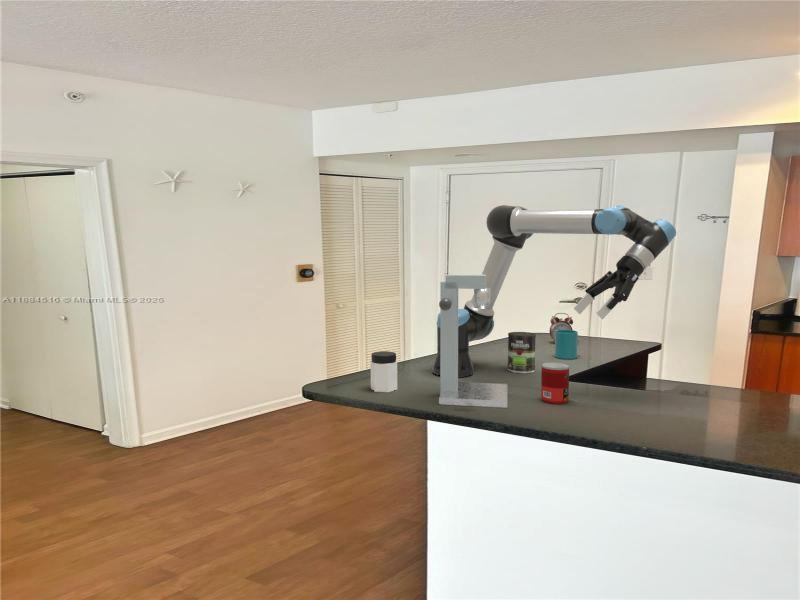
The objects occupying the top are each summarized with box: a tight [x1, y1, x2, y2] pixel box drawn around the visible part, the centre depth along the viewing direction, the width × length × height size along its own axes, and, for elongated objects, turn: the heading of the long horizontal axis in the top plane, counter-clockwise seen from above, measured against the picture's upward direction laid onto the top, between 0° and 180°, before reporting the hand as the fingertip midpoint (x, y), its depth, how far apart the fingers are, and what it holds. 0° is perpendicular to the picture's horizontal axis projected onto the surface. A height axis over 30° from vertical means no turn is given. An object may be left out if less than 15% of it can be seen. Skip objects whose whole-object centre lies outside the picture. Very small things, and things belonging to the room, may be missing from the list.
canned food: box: [540, 362, 570, 405], centre depth 163 cm, size 8×8×11 cm
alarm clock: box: [548, 312, 574, 343], centre depth 260 cm, size 11×5×15 cm, turn 81°
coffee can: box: [507, 331, 537, 374], centre depth 204 cm, size 10×10×14 cm
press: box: [438, 274, 509, 409], centre depth 165 cm, size 23×20×38 cm
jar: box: [370, 350, 398, 393], centre depth 177 cm, size 9×8×12 cm
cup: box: [554, 329, 579, 360], centre depth 228 cm, size 9×12×11 cm
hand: (587, 313), depth 163 cm, fingers open, 13 cm apart
